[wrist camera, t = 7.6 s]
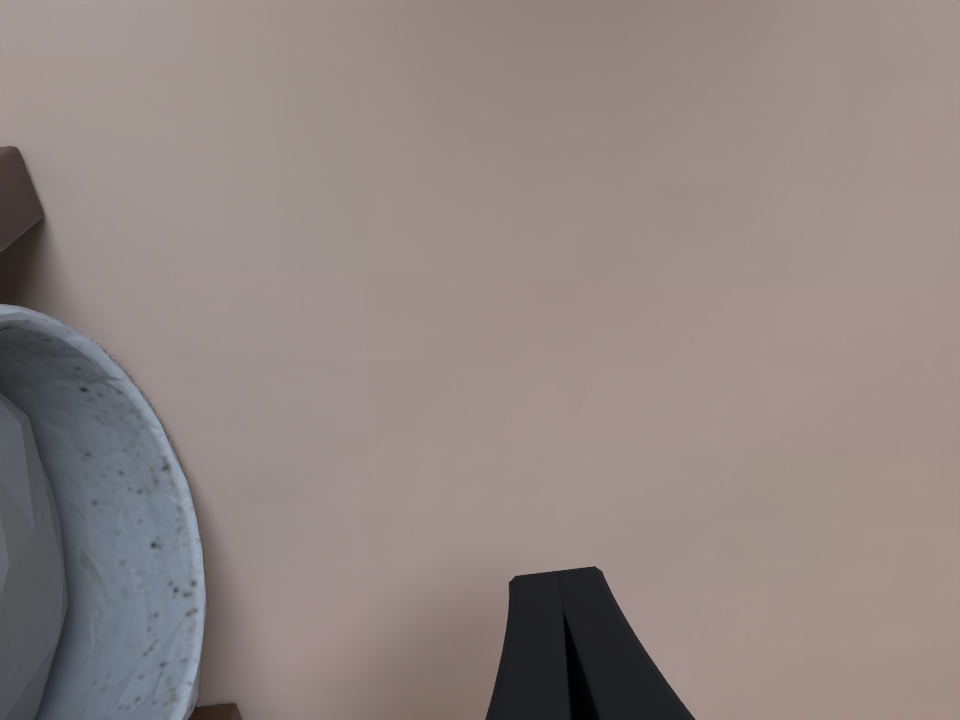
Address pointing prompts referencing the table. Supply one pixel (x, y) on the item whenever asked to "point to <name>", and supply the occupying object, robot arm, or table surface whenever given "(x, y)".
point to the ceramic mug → (91, 538)
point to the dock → (3, 218)
